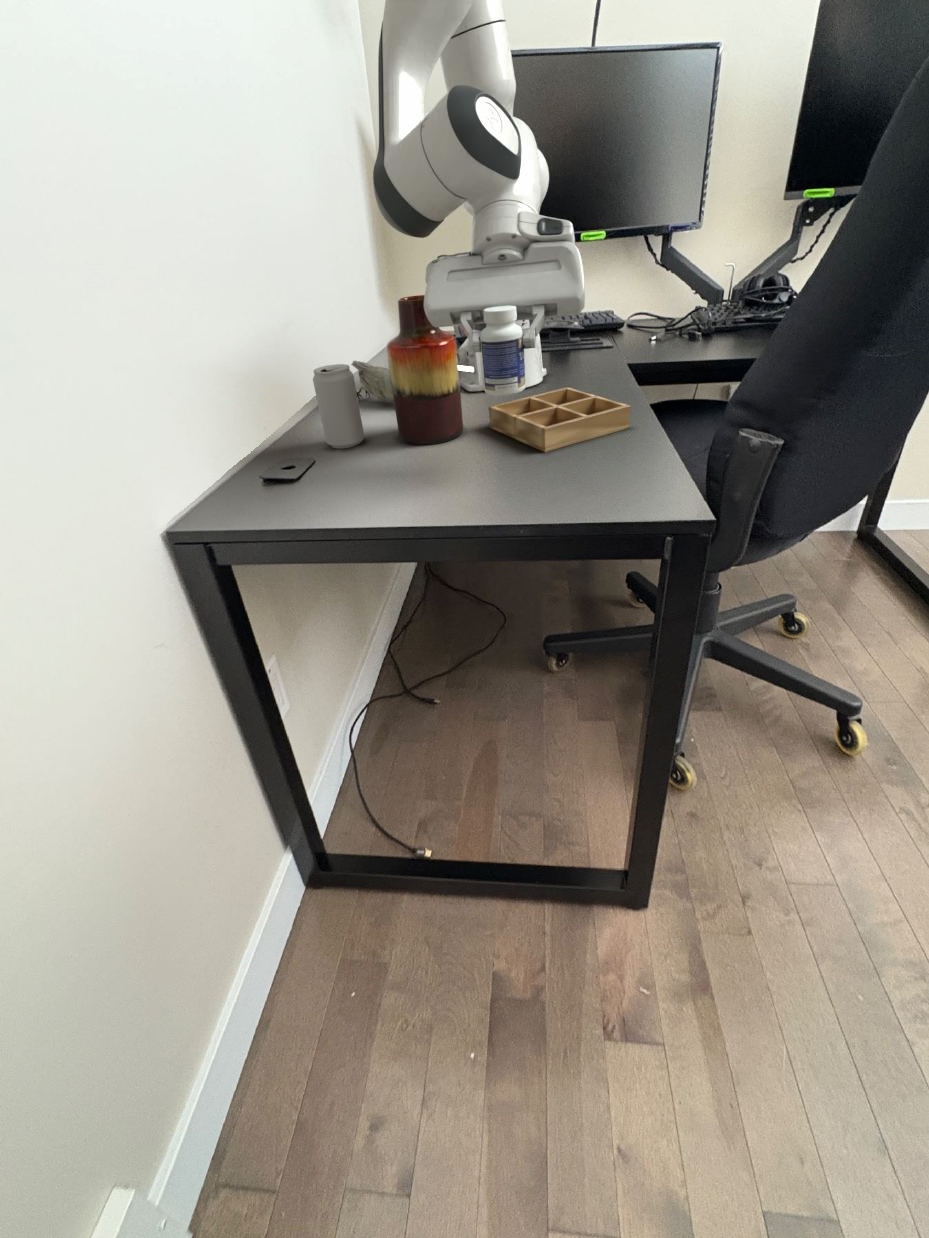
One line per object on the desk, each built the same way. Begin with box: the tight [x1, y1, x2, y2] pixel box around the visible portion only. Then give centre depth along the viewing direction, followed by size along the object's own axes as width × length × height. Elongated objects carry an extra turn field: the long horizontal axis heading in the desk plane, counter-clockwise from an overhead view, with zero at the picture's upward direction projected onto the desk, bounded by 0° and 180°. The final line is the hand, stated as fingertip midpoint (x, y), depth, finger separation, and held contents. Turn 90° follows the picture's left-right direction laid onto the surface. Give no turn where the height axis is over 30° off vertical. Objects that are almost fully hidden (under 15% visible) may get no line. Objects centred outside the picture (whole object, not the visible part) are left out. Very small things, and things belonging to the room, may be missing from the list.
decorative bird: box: [351, 360, 394, 404], centre depth 117 cm, size 5×16×7 cm, turn 50°
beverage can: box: [312, 363, 365, 449], centre depth 97 cm, size 6×6×12 cm
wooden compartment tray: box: [488, 386, 631, 453], centre depth 96 cm, size 16×16×4 cm
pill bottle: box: [480, 305, 526, 397], centre depth 75 cm, size 5×5×10 cm
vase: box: [385, 294, 464, 446], centre depth 95 cm, size 11×11×20 cm
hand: (502, 348), depth 75 cm, fingers closed on pill bottle, 5 cm apart
